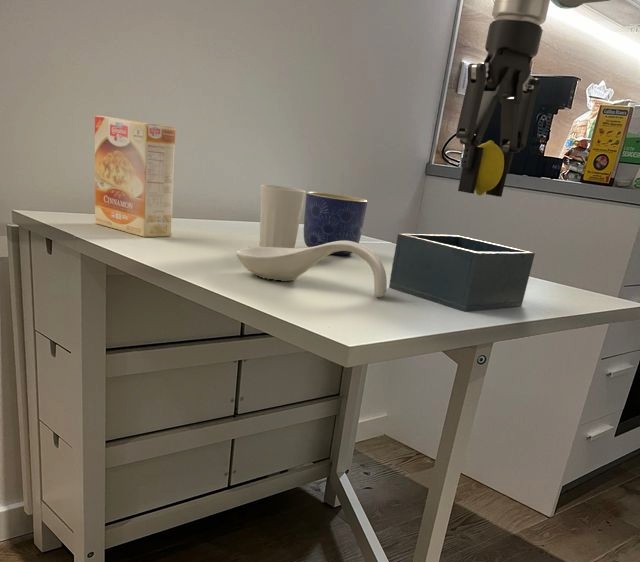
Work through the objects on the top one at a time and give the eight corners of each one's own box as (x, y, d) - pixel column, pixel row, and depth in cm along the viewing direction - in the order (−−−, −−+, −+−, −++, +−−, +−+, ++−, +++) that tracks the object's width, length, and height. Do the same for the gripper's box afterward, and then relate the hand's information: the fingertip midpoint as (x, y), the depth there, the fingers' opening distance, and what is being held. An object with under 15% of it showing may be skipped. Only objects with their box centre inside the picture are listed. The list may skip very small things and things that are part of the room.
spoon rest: (223, 275, 100) (226, 226, 97) (250, 265, 110) (254, 221, 107) (376, 304, 95) (384, 253, 92) (389, 291, 106) (397, 245, 103)
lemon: (458, 193, 102) (469, 136, 99) (465, 192, 107) (476, 139, 104) (494, 198, 100) (507, 141, 97) (499, 198, 105) (511, 143, 102)
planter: (287, 246, 137) (293, 190, 132) (328, 245, 145) (335, 193, 141) (331, 258, 129) (339, 199, 125) (371, 256, 138) (380, 202, 134)
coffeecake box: (93, 223, 130) (93, 114, 123) (123, 223, 136) (124, 119, 128) (143, 237, 122) (145, 122, 115) (172, 236, 128) (177, 126, 120)
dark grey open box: (521, 306, 109) (535, 253, 105) (465, 311, 99) (478, 253, 95) (446, 284, 119) (457, 235, 116) (388, 287, 109) (397, 233, 105)
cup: (275, 261, 118) (282, 190, 113) (245, 252, 122) (251, 183, 118) (306, 260, 123) (314, 192, 119) (276, 251, 128) (283, 186, 123)
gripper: (537, 38, 102) (501, 195, 111) (452, 9, 92) (419, 185, 101) (578, 35, 97) (537, 201, 106) (492, 5, 87) (454, 192, 95)
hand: (480, 193), depth 103 cm, fingers closed on lemon, 5 cm apart
